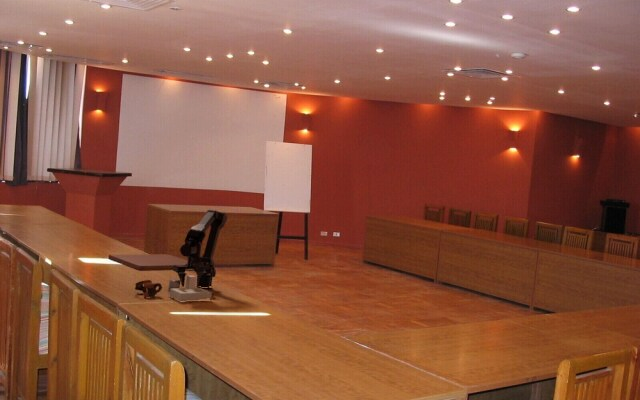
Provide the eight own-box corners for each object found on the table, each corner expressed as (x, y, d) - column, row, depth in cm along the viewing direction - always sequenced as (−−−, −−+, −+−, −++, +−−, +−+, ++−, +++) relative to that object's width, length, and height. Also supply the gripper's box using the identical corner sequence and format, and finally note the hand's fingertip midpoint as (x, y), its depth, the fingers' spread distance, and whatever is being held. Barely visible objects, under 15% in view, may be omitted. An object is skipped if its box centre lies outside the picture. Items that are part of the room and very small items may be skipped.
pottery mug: (138, 299, 311) (134, 281, 313) (136, 304, 319) (132, 286, 321) (164, 293, 315) (161, 276, 318) (162, 298, 324) (158, 281, 326)
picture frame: (108, 259, 399) (138, 271, 376) (108, 254, 399) (139, 265, 376) (167, 259, 428) (199, 269, 405) (168, 254, 428) (200, 264, 405)
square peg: (190, 291, 338) (192, 275, 338) (194, 293, 336) (196, 276, 336) (184, 291, 336) (186, 275, 336) (188, 293, 334) (190, 276, 333)
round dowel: (175, 291, 335) (177, 279, 335) (180, 293, 331) (182, 281, 331) (166, 291, 332) (167, 279, 332) (171, 294, 328) (172, 281, 328)
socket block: (199, 296, 331) (200, 288, 330) (210, 301, 323) (211, 292, 323) (169, 297, 320) (170, 288, 320) (179, 302, 313) (180, 293, 313)
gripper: (185, 257, 323) (181, 290, 324) (219, 257, 335) (215, 289, 336) (173, 252, 332) (169, 285, 332) (207, 253, 344) (204, 284, 344)
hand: (190, 286), depth 336 cm, fingers open, 8 cm apart
